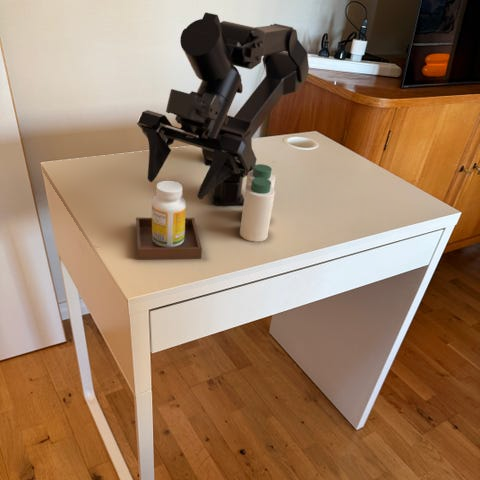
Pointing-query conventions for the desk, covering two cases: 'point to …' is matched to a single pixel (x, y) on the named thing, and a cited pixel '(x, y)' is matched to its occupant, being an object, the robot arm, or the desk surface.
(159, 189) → the supplement bottle
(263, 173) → the white bottle
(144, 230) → the tray
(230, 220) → the desk surface
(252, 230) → the white bottle
